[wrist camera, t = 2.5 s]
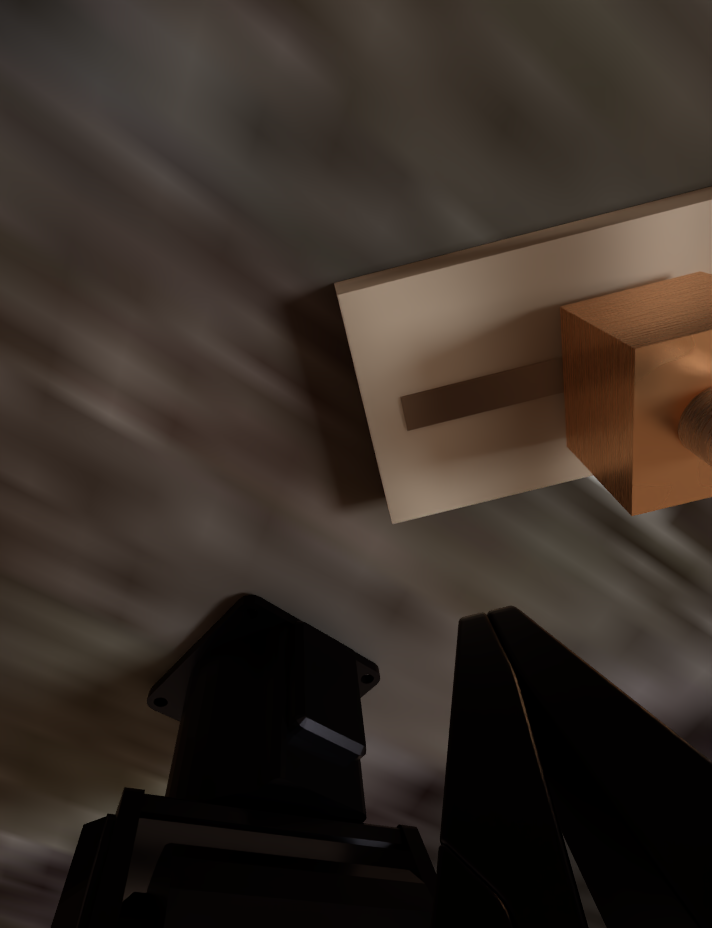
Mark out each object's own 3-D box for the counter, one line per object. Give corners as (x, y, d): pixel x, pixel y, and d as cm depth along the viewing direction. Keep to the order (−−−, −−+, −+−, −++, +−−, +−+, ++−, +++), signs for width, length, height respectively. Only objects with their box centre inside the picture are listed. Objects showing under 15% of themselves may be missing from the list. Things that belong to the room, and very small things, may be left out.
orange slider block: (566, 446, 16) (701, 590, 11) (559, 306, 14) (720, 397, 9) (689, 416, 16) (887, 546, 10) (700, 271, 14) (950, 341, 9)
